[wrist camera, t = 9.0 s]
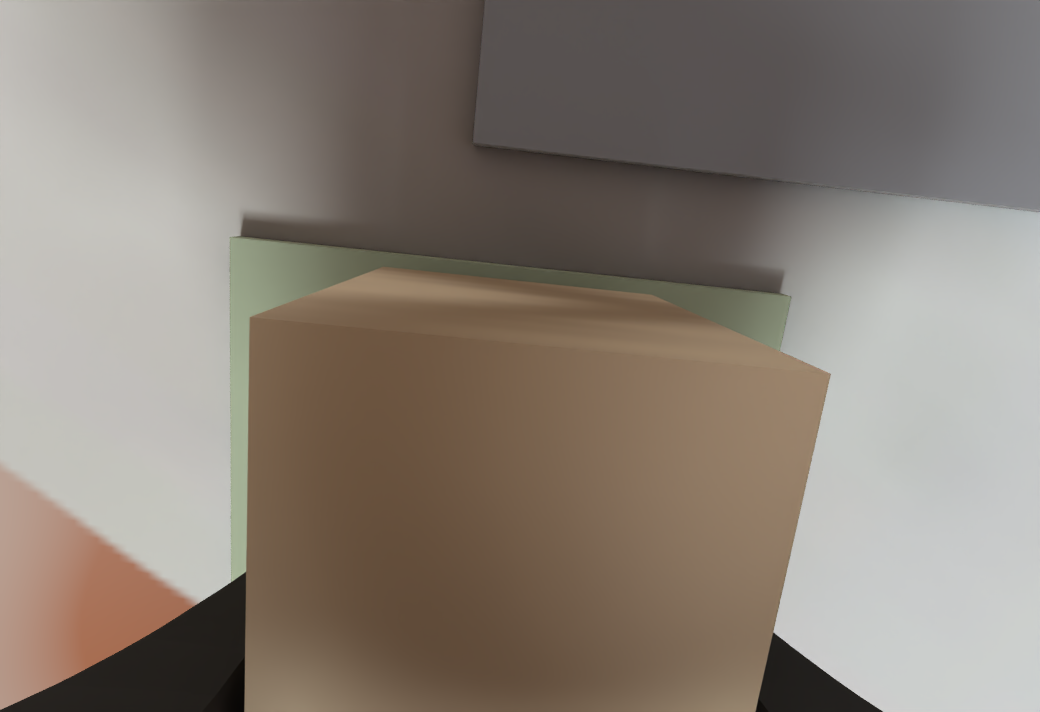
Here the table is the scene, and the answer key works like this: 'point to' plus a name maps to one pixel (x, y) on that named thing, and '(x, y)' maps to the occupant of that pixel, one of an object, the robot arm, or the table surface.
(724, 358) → the birch block
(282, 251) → the green square tile
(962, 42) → the gray tile
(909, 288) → the table surface
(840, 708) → the robot arm
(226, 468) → the table surface
